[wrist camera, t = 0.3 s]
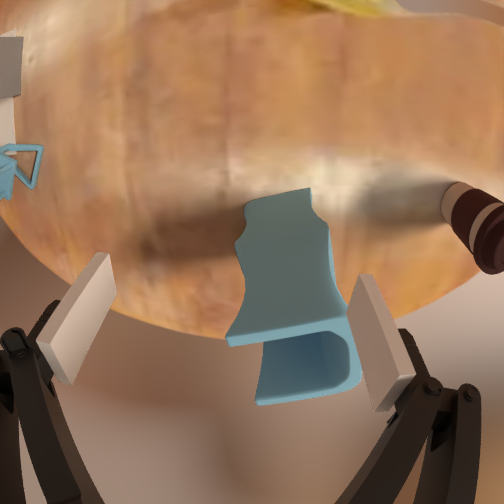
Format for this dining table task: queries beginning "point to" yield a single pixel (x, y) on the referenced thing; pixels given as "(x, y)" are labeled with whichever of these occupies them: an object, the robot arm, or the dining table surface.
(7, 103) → the mat
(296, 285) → the blue wavy holder
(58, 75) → the dining table surface
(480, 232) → the coffee cup
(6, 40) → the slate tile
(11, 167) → the chair
